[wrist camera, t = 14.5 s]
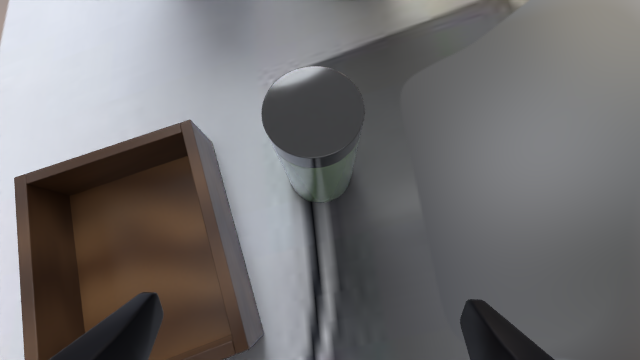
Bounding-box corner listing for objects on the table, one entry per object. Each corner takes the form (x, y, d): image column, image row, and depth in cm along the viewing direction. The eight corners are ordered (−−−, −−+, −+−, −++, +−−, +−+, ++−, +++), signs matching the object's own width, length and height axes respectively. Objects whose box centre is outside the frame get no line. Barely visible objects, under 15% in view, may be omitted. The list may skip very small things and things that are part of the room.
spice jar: (350, 204, 23) (363, 161, 13) (286, 200, 23) (254, 155, 14) (352, 145, 24) (366, 67, 15) (292, 142, 25) (267, 63, 15)
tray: (264, 334, 21) (249, 349, 17) (86, 402, 20) (28, 434, 16) (211, 141, 25) (190, 119, 21) (63, 191, 24) (13, 177, 20)
